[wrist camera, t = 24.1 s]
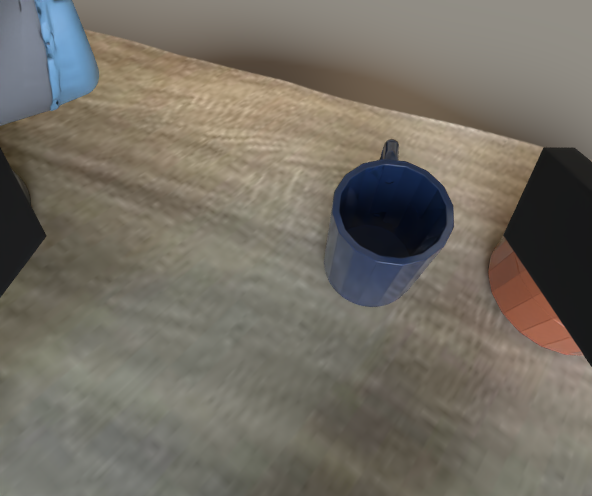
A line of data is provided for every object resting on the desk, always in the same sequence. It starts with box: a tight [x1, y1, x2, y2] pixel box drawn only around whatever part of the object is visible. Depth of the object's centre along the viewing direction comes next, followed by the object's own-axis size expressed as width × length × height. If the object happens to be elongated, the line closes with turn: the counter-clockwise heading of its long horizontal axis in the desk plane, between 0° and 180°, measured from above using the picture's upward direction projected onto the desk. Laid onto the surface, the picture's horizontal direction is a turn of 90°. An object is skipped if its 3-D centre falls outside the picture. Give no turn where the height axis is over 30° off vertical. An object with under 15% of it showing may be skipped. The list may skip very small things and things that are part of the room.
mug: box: [324, 139, 454, 307], centre depth 32 cm, size 12×8×10 cm
